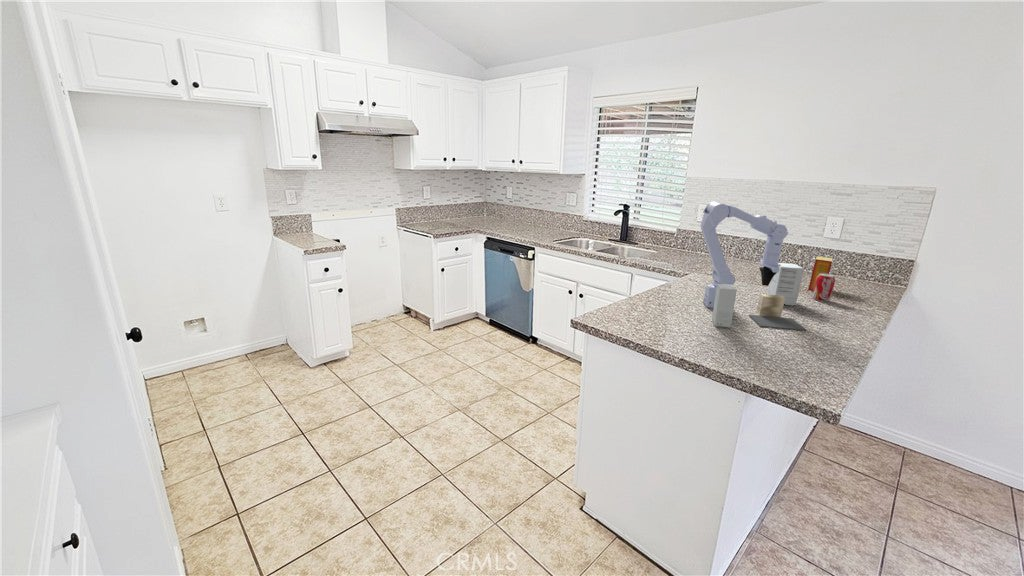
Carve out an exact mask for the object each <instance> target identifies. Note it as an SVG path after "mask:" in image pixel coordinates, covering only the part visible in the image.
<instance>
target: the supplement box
mask: <svg viewBox="0 0 1024 576" xmlns="http://www.w3.org/2000/svg"><path fill="white" fill-rule="evenodd" d="M778 264H780V265H781V266H778V267H779V268H780V269H779V273H776V274H775V275H774V277H773V278H772V280H771V282H770V284H769V285H768V287H767V292H766V295H778V296H783V297H784V298H785V301H784V304H785V305H784V306H793V305H796V306H797V301H798V297H799V293H800V292H799V291H800V288H801V285H802V281H803V276H804V271H805V268H804V267H802V266H800V265H798V264H796V263H786V262H778Z"/></svg>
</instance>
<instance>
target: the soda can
mask: <svg viewBox="0 0 1024 576" xmlns="http://www.w3.org/2000/svg"><path fill="white" fill-rule="evenodd" d="M835 284H836V279H835V275H834V274H832V273H829V274H826V273H820V274H819V275H818V276H817V278H816V281H815V285H814V289H813V291H812V296H811V298H812V299H813V300H814V299H815V300H814V301H817V300H818V301H817V302H821V301H823V302H822V303H826V302H829V301H831V298H832V294H833V291H834V288H835Z"/></svg>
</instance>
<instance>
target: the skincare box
mask: <svg viewBox="0 0 1024 576" xmlns="http://www.w3.org/2000/svg"><path fill="white" fill-rule="evenodd" d="M737 291H738V290H737V288H736V287H735V286H734V285H731V284H717V289H716V296H715V302H714V308H712V309H713V310H712V317H711V320H712V323H713V325H714V326H715V327H721V328H729V329H731V327H732V322H733V315H734V310H735V309H734V308H735V303H736V295H737Z"/></svg>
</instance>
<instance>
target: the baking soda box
mask: <svg viewBox="0 0 1024 576" xmlns="http://www.w3.org/2000/svg"><path fill="white" fill-rule="evenodd" d="M832 263H833V258H832V257H826V256H818V255H816V258H815V261H814V264H813V268H812V272H811V276H810V280H809V284H808V289H807V290H808V291H810V290H812V292H813V289H814V285H815V281H816V278H817V276H818V275H819V274H820V273H826V274H830V271H831V267H832Z"/></svg>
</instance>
